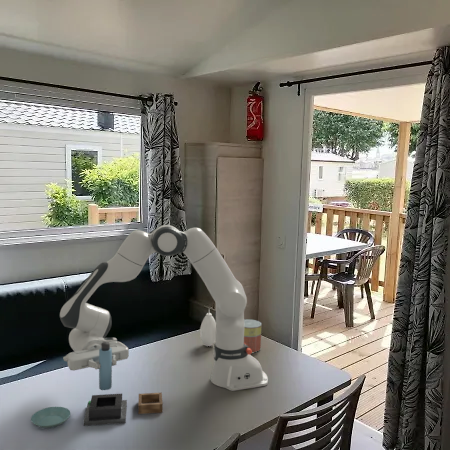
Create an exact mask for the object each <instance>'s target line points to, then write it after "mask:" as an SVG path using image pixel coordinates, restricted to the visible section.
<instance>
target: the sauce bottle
mask: <svg viewBox="0 0 450 450" xmlns="http://www.w3.org/2000/svg"><path fill="white" fill-rule="evenodd" d="M210 311H211V310H210V308H208V312H207V313H206V314H205V316H204V317H203V319H202V321H201V325H200V327H199V339H200V341H201V343H202V344H203V345H204V346H205V347H208V346H209V347H211V346H213V345H214V344H215V340H216V319H215V318H214V316H213V314H212V313H211V312H210Z"/></svg>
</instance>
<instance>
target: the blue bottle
mask: <svg viewBox="0 0 450 450" xmlns="http://www.w3.org/2000/svg"><path fill="white" fill-rule="evenodd" d="M99 363H100V364H101V366H100V367H101V368H100V369H98V373H99V374H98V389H99V390H102V391H108V390H111V389H112V385H113V383H112V380H113V379H112V378H113V376H112V375H113V374H112V373H113V366H112V348H110V343H109V342H103V343H102V344H101V348H100V349H99Z"/></svg>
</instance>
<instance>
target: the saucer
mask: <svg viewBox="0 0 450 450" xmlns="http://www.w3.org/2000/svg"><path fill="white" fill-rule="evenodd" d="M70 416H71V410H69V408H67V407H64V406H49V407H46V408H42V409H39V410H38V411H35V412H34V413H33V414H32V415H31V417H30V421H31V423H32V424H34V425H35V426H37V427H39V428H43V429H51V428H55V427H58V426H61V424H64V423H65V422H66V421H67V420H68V419H69V418H70Z"/></svg>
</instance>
